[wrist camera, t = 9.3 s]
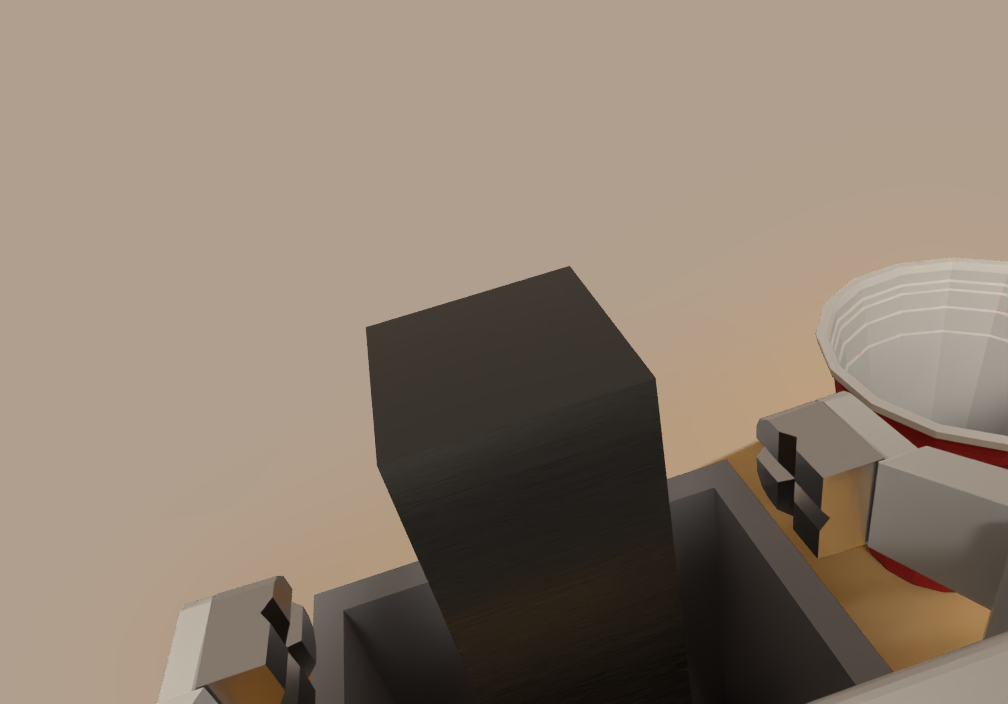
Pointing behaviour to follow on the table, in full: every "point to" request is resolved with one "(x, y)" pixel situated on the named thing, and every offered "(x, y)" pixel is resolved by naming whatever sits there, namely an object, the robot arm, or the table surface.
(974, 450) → the plastic cup
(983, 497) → the robot arm
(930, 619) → the table surface
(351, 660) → the box
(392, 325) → the plunger
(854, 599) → the table surface
